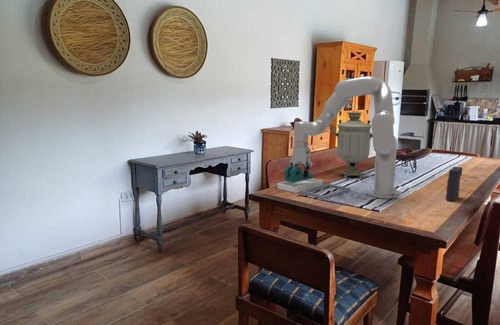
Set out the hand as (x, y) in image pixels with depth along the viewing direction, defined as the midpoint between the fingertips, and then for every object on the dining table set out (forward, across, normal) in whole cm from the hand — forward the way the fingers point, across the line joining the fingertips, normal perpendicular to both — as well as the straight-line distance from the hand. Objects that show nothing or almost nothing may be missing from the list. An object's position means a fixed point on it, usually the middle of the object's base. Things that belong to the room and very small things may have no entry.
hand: (300, 175), depth 201 cm
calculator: (+7, -67, -34) cm, 76 cm away
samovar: (+7, -4, -47) cm, 48 cm away
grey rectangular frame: (+7, -17, -1) cm, 18 cm away
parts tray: (+7, 0, 0) cm, 7 cm away
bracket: (+2, 0, 0) cm, 2 cm away
